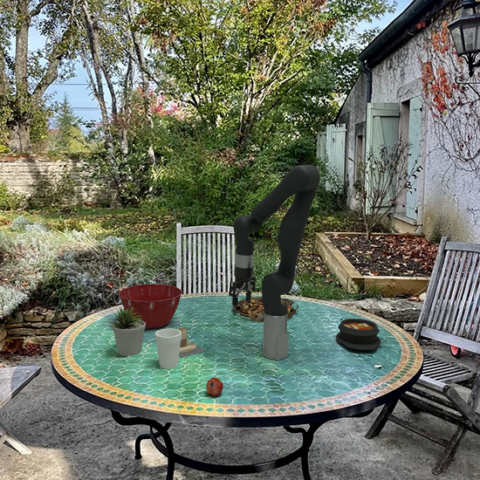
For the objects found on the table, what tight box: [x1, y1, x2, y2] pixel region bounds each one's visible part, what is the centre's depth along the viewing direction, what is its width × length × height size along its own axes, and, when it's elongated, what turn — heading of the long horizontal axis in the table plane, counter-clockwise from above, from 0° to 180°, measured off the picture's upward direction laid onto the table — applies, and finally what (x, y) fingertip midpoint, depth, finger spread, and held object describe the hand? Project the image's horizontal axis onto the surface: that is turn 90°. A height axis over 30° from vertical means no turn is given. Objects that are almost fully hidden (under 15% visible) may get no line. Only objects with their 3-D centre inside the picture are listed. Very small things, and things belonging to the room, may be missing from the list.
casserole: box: [335, 318, 382, 351], centre depth 203 cm, size 25×19×8 cm
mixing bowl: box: [118, 283, 183, 330], centre depth 221 cm, size 28×28×15 cm
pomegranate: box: [205, 376, 224, 397], centre depth 156 cm, size 6×6×8 cm
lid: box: [177, 327, 197, 354], centre depth 191 cm, size 11×11×8 cm
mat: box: [179, 345, 207, 359], centre depth 192 cm, size 16×12×1 cm
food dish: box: [232, 296, 299, 323], centre depth 243 cm, size 35×33×8 cm
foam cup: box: [154, 328, 182, 370], centre depth 175 cm, size 10×9×13 cm
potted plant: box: [108, 307, 146, 357], centre depth 187 cm, size 13×14×20 cm
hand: (241, 303), depth 195 cm, fingers open, 8 cm apart
